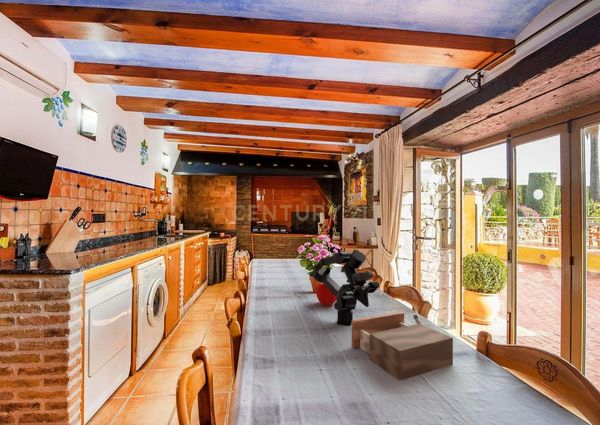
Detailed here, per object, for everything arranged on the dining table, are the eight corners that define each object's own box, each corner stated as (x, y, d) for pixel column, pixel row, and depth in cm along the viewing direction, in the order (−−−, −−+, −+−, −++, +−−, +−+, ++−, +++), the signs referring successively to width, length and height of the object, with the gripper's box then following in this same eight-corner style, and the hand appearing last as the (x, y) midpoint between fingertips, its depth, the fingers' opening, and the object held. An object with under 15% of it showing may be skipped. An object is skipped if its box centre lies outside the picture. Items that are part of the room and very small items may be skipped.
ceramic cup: (327, 311, 150) (327, 292, 151) (311, 302, 165) (311, 285, 166) (347, 307, 156) (347, 289, 157) (330, 299, 171) (330, 283, 172)
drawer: (351, 346, 108) (351, 320, 109) (401, 336, 119) (401, 311, 119) (376, 364, 96) (376, 334, 96) (429, 350, 106) (429, 323, 106)
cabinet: (369, 359, 100) (369, 333, 100) (419, 347, 110) (419, 323, 110) (399, 380, 87) (399, 350, 87) (452, 364, 97) (452, 337, 97)
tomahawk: (435, 336, 123) (435, 333, 123) (418, 333, 125) (419, 330, 125) (426, 318, 144) (426, 316, 144) (412, 316, 145) (412, 314, 145)
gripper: (342, 265, 121) (358, 298, 110) (377, 263, 129) (394, 294, 118) (332, 280, 128) (345, 312, 118) (365, 277, 136) (381, 307, 125)
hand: (367, 306), depth 120 cm, fingers closed
